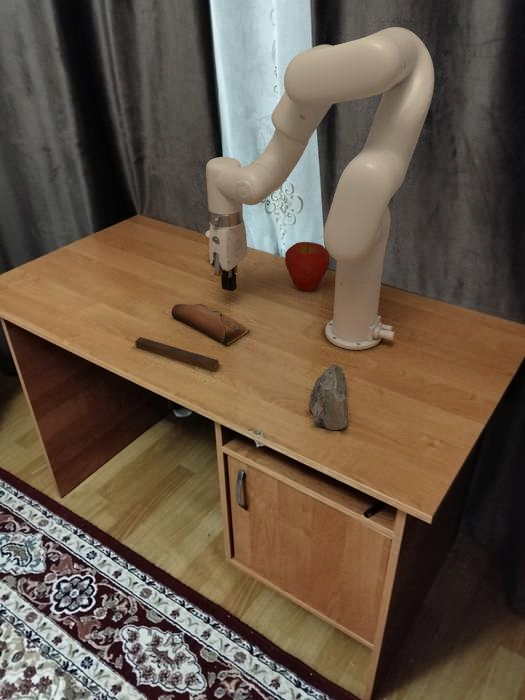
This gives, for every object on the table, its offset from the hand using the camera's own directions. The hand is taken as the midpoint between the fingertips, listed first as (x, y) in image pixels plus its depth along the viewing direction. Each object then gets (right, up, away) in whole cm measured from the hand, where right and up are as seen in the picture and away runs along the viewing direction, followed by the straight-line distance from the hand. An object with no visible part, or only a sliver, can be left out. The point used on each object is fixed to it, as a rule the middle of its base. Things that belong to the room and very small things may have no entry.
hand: (229, 288), depth 137 cm
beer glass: (-5, +10, +22) cm, 25 cm away
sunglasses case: (-4, -9, -5) cm, 11 cm away
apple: (+19, +1, +9) cm, 21 cm away
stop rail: (-10, -16, -15) cm, 24 cm away
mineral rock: (+21, -26, -29) cm, 44 cm away
